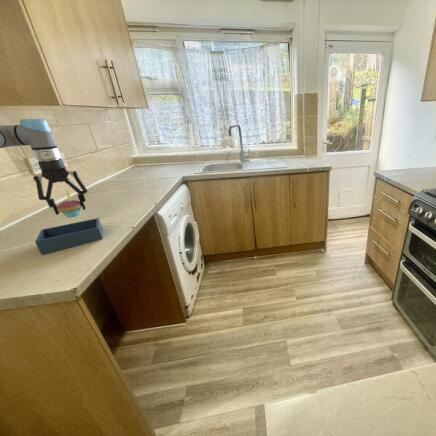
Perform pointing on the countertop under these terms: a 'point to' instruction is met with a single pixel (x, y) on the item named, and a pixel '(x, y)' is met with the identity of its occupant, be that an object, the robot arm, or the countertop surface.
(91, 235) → the bin
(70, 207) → the cupcake
